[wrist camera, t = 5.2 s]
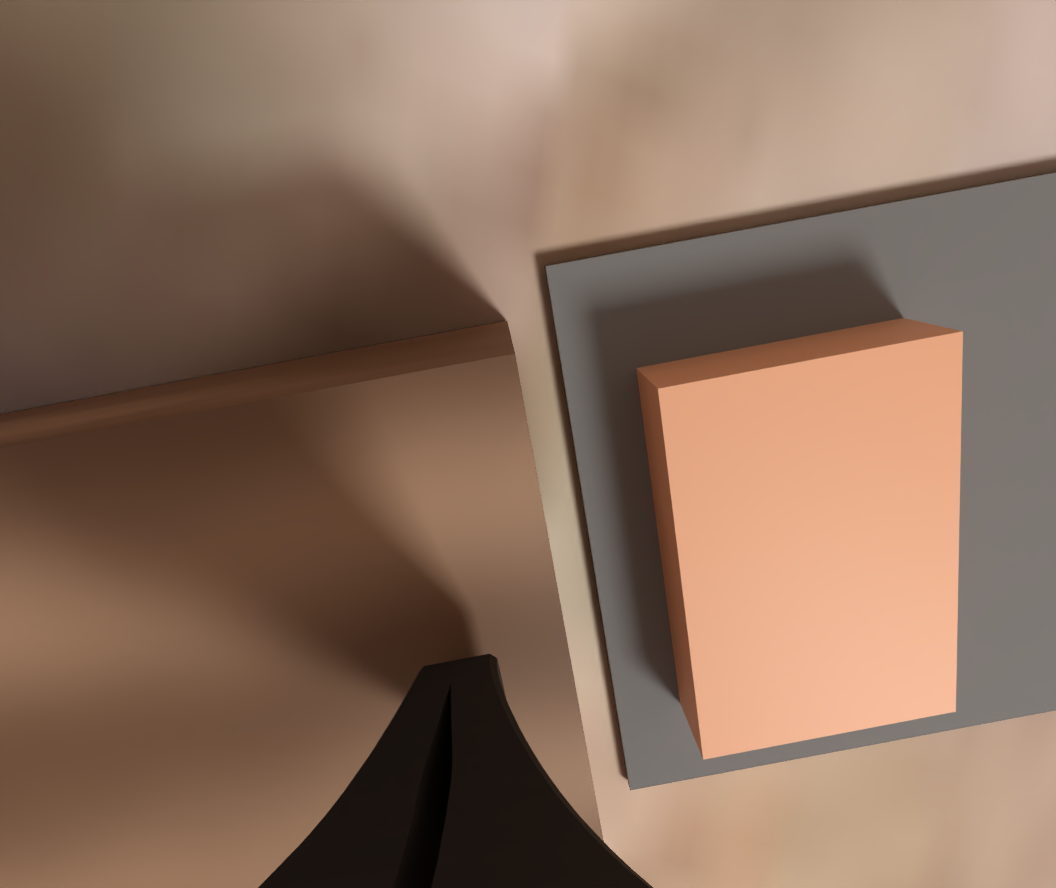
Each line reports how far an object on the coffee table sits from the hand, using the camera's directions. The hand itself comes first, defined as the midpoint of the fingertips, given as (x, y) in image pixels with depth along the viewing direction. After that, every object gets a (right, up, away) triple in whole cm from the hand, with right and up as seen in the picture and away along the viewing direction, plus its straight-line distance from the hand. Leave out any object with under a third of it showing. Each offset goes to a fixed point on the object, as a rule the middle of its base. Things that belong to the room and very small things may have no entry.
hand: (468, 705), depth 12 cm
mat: (+8, +3, +4) cm, 10 cm away
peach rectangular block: (+7, +2, +2) cm, 8 cm away
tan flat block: (-5, +1, +4) cm, 7 cm away
